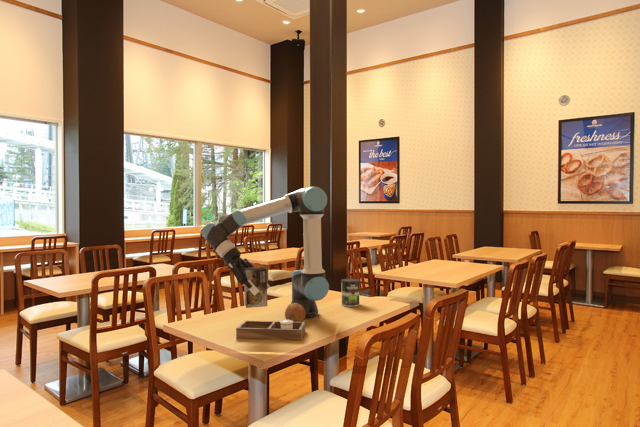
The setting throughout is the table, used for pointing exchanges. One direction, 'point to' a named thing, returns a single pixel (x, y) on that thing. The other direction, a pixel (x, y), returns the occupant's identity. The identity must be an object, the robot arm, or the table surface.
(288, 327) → the cream jug
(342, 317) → the table surface
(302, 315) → the onion
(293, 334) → the caddy
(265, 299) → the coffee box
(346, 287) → the coffee can
